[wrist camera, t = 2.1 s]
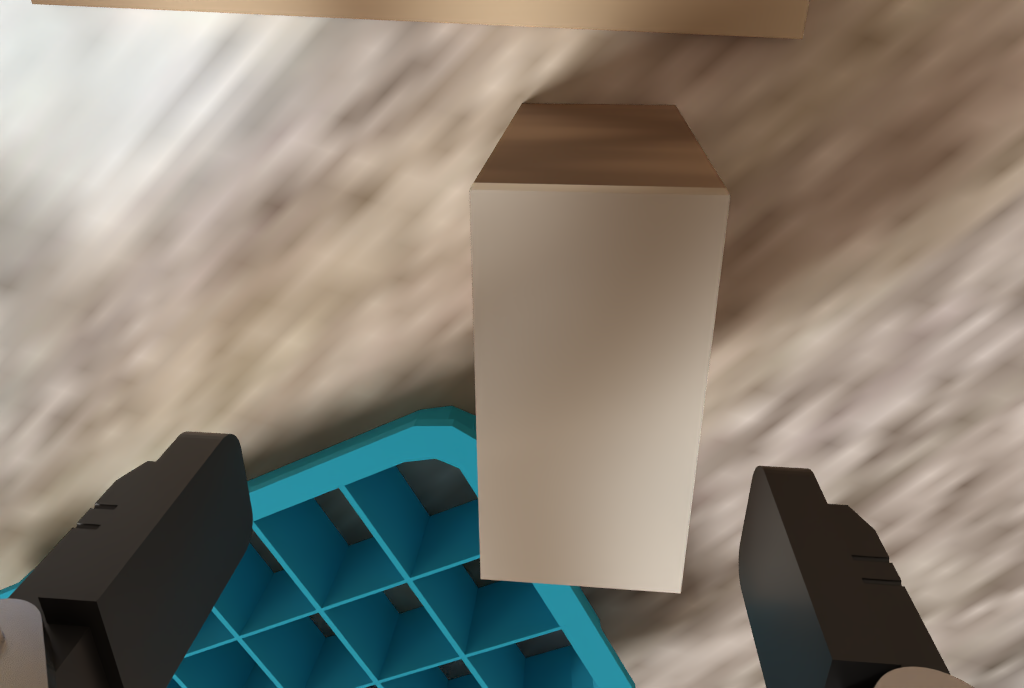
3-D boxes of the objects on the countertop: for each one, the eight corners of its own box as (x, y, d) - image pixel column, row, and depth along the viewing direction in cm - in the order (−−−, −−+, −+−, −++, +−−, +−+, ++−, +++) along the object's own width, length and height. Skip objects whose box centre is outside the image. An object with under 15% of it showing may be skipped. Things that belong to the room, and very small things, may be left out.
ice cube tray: (-18, 564, 27) (-87, 630, 24) (478, 351, 21) (460, 407, 18) (183, 769, 31) (143, 845, 28) (645, 639, 25) (651, 719, 22)
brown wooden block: (675, 105, 17) (730, 195, 10) (651, 375, 20) (680, 593, 13) (522, 103, 17) (469, 189, 10) (521, 369, 20) (481, 579, 13)
